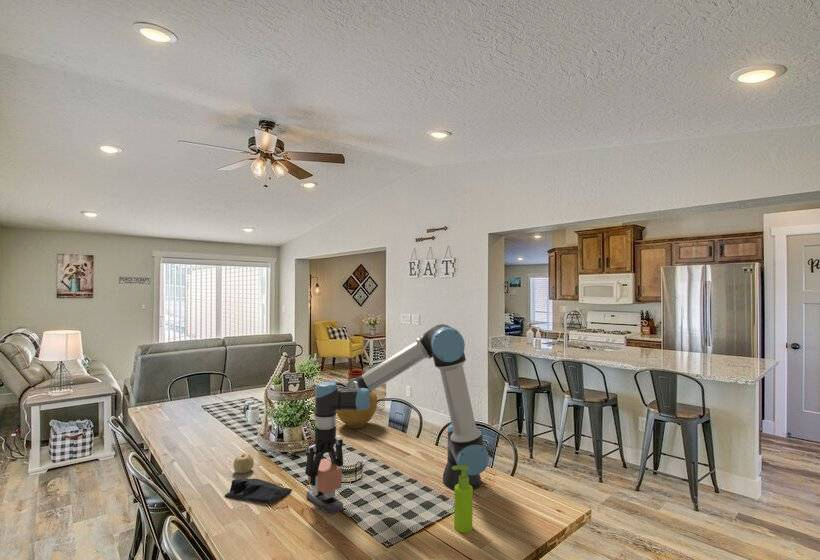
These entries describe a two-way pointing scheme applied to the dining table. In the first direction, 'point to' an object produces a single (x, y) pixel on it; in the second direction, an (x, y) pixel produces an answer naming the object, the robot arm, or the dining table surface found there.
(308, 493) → the rail
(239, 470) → the apple
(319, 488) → the pink toy cube
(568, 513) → the dining table surface
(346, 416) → the vase
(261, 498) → the black crumpled cloth
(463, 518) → the soap dispenser
